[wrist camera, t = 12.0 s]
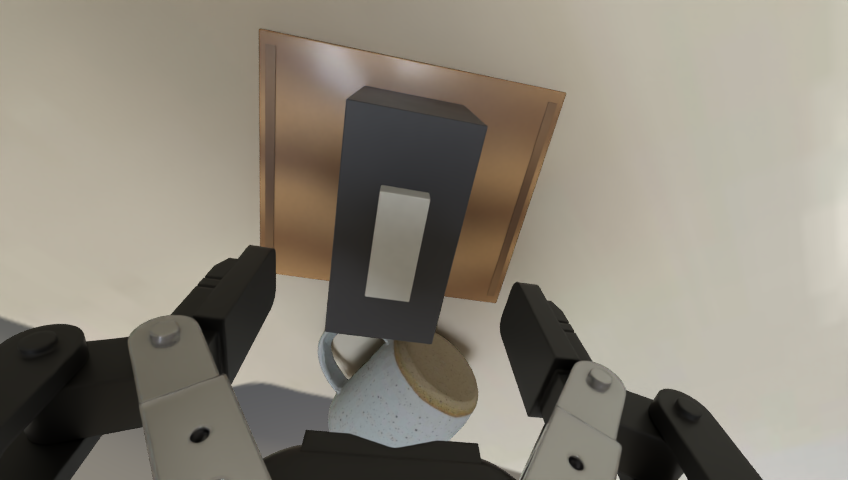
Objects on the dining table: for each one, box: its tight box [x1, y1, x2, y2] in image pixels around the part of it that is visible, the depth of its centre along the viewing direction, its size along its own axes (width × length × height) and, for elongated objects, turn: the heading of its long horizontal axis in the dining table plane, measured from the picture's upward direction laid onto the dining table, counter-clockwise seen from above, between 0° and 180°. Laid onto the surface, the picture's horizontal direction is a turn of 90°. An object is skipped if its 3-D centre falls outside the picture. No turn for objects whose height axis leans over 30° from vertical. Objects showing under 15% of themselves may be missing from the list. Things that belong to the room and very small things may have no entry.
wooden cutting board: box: [259, 29, 566, 303], centre depth 22 cm, size 14×16×1 cm
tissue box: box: [325, 86, 488, 344], centre depth 19 cm, size 11×5×7 cm, turn 169°
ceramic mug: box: [318, 331, 478, 448], centre depth 25 cm, size 11×8×8 cm
